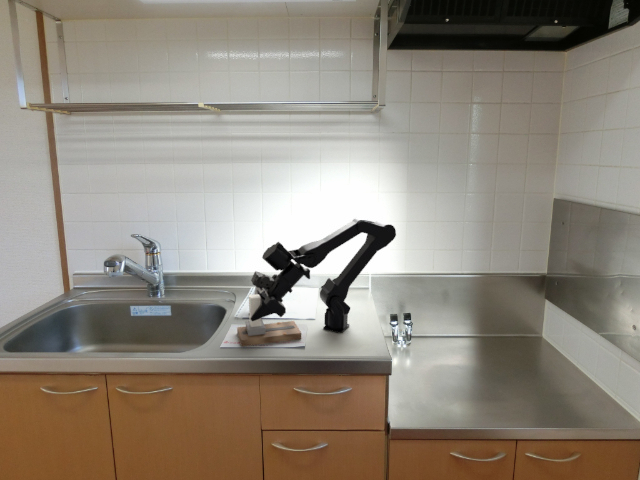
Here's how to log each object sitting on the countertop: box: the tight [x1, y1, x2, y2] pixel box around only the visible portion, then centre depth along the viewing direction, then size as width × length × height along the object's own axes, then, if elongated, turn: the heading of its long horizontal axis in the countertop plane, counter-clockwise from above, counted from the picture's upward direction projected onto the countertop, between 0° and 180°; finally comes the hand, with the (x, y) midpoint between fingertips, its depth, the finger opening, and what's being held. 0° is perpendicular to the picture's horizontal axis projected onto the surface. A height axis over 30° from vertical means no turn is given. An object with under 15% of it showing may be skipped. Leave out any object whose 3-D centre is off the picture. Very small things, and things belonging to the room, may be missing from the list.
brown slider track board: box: [236, 320, 302, 347], centre depth 135 cm, size 18×9×2 cm, turn 108°
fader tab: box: [245, 294, 266, 336], centre depth 132 cm, size 5×6×11 cm
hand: (250, 318), depth 132 cm, fingers closed on fader tab, 3 cm apart
